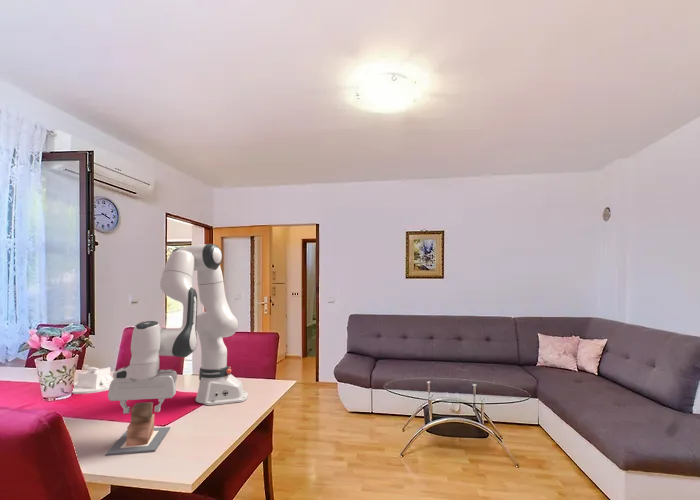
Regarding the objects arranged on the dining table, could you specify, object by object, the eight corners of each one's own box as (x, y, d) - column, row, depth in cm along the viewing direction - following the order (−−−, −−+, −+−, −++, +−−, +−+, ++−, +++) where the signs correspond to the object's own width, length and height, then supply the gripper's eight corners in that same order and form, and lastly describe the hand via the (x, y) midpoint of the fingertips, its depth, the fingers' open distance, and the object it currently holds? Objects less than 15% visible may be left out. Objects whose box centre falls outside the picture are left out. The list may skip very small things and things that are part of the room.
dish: (94, 396, 168) (96, 371, 169) (49, 392, 173) (50, 368, 174) (135, 381, 193) (136, 359, 194) (94, 378, 197) (95, 357, 198)
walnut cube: (152, 417, 126) (152, 402, 127) (147, 422, 121) (148, 407, 122) (136, 418, 125) (136, 402, 126) (130, 423, 120) (131, 407, 121)
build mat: (170, 428, 133) (170, 426, 133) (154, 451, 116) (155, 449, 116) (127, 431, 130) (127, 429, 130) (105, 455, 113) (105, 453, 113)
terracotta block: (153, 431, 129) (154, 414, 129) (147, 444, 119) (148, 425, 119) (134, 433, 127) (135, 415, 127) (126, 446, 117) (127, 427, 118)
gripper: (179, 366, 130) (177, 407, 129) (115, 369, 126) (112, 410, 125) (175, 371, 124) (173, 413, 123) (107, 373, 119) (104, 417, 118)
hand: (142, 412), depth 124 cm, fingers open, 8 cm apart
